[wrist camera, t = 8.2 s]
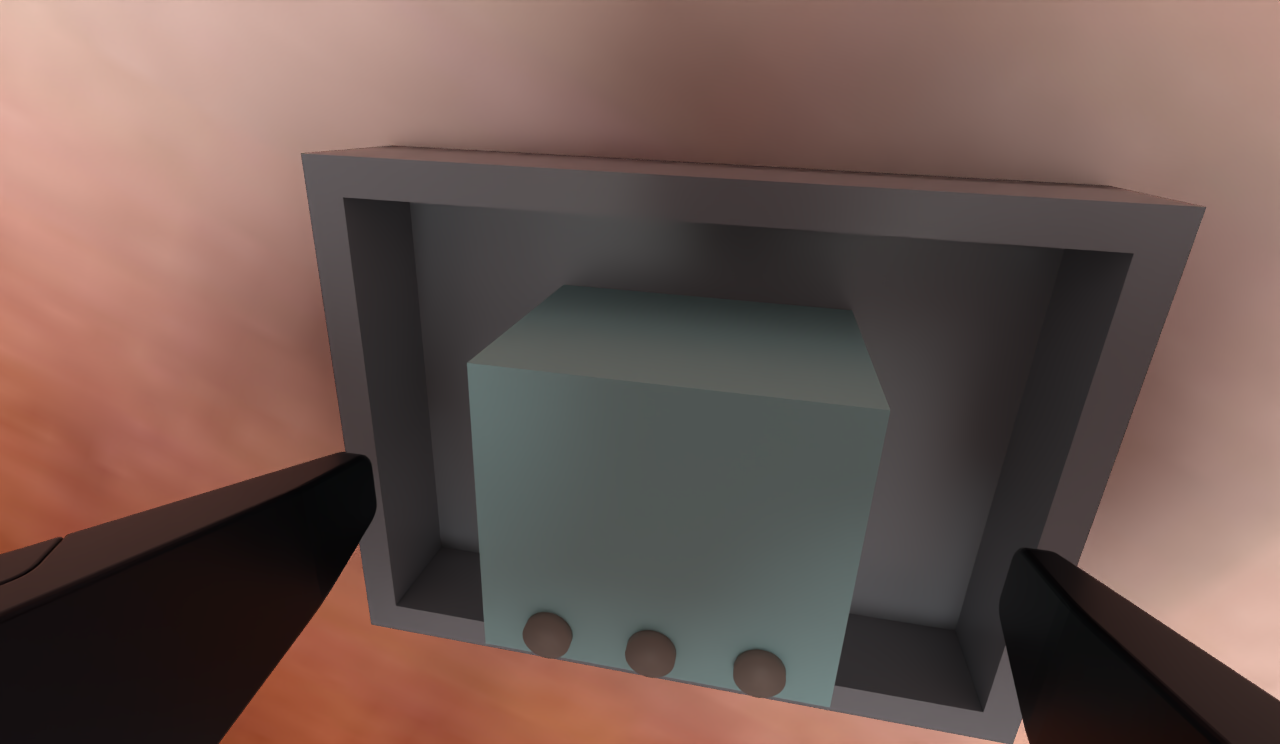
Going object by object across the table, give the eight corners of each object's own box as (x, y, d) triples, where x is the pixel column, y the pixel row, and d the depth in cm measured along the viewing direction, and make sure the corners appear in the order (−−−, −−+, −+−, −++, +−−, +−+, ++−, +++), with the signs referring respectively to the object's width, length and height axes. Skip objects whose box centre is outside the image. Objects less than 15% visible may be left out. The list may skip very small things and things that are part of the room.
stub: (565, 498, 13) (481, 651, 10) (563, 284, 12) (461, 367, 8) (814, 534, 13) (830, 717, 9) (851, 310, 11) (892, 416, 7)
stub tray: (431, 548, 15) (371, 624, 13) (392, 145, 12) (301, 152, 10) (972, 636, 13) (1011, 744, 11) (1107, 185, 10) (1205, 207, 8)
